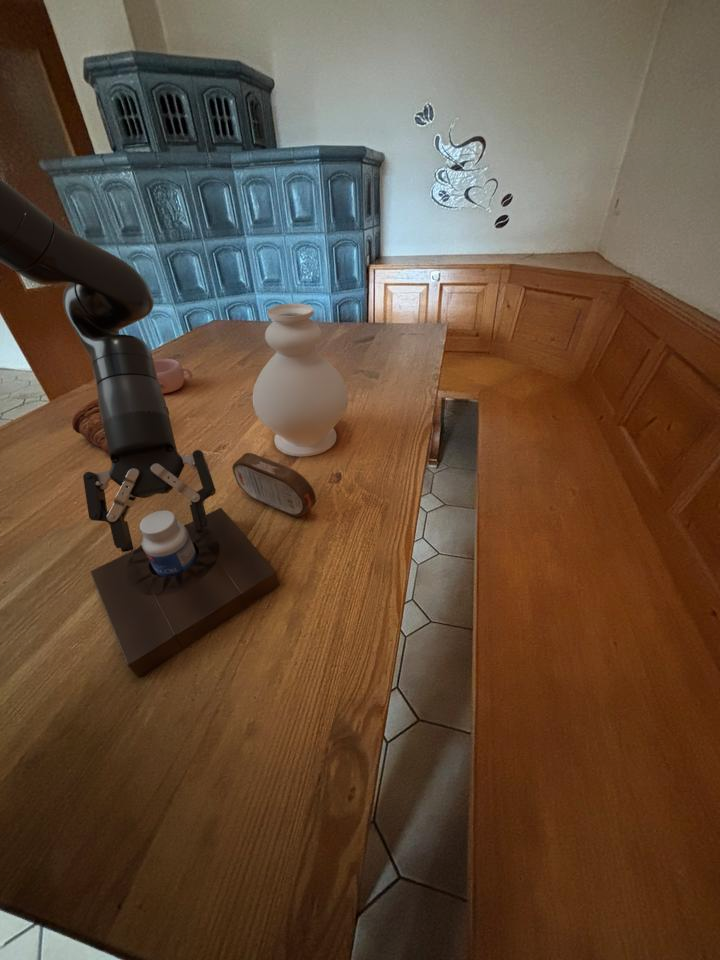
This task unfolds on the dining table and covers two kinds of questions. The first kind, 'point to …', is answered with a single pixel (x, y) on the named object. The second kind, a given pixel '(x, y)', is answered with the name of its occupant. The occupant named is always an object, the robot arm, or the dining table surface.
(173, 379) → the mug
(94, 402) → the pastry
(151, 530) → the pill bottle
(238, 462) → the tin
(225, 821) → the dining table surface
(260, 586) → the base pad
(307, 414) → the decorative vase
